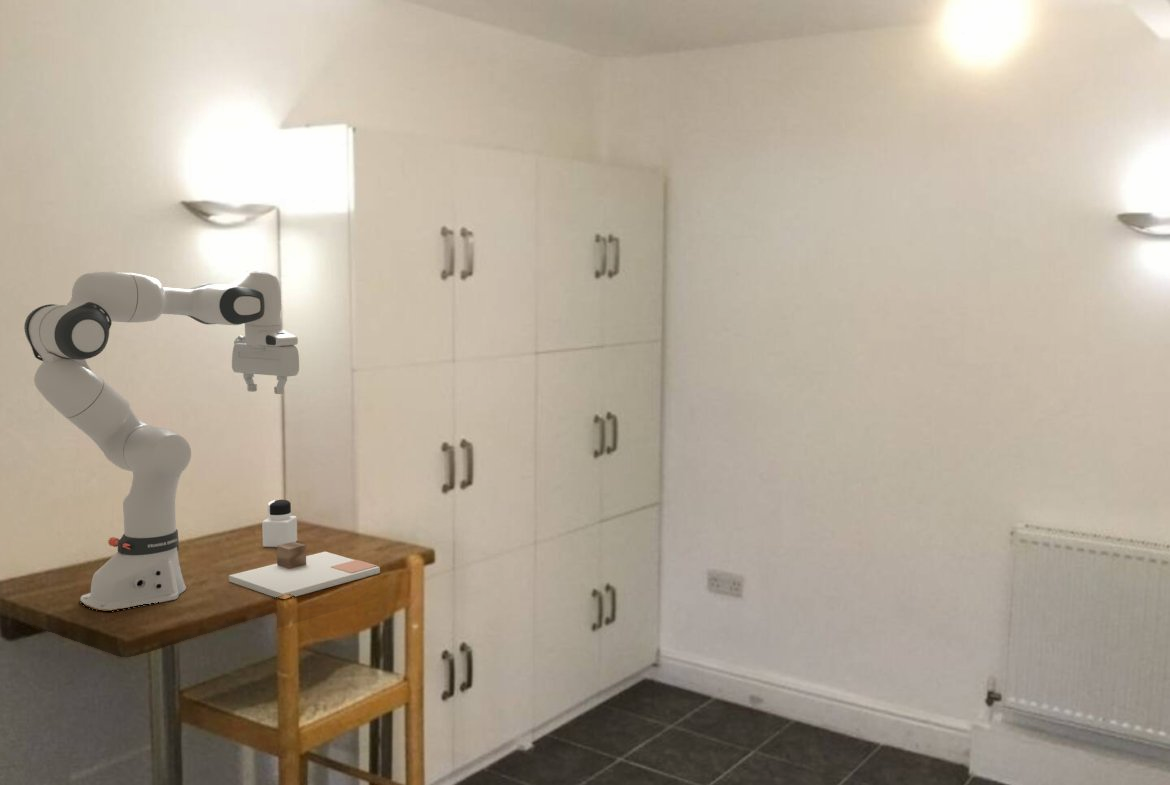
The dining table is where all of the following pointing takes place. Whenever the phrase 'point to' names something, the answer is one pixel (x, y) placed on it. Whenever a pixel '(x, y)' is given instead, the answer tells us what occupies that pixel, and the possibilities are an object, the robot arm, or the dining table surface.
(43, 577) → the dining table surface
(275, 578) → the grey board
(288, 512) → the medicine bottle
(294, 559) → the walnut cube
